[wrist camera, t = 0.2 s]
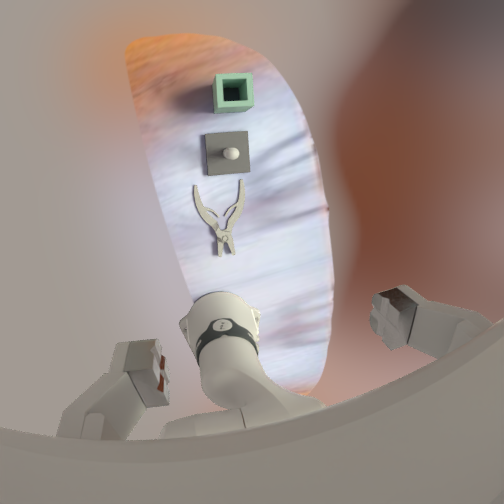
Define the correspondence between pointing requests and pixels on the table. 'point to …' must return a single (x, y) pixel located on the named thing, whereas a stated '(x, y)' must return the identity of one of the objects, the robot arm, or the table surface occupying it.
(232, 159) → the post stand
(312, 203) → the table surface
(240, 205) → the pliers
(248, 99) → the sleeve
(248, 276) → the table surface
